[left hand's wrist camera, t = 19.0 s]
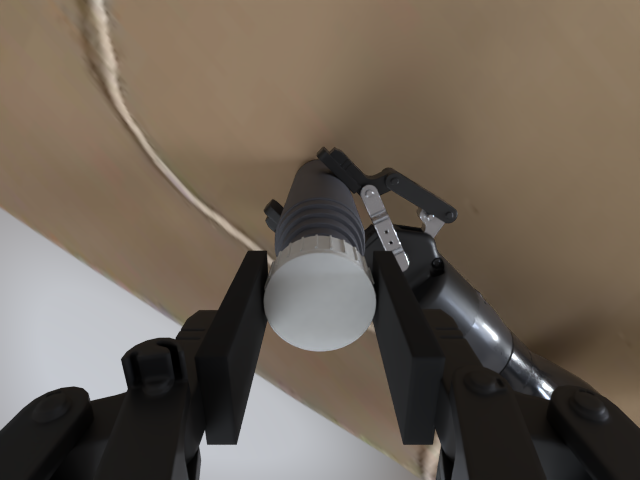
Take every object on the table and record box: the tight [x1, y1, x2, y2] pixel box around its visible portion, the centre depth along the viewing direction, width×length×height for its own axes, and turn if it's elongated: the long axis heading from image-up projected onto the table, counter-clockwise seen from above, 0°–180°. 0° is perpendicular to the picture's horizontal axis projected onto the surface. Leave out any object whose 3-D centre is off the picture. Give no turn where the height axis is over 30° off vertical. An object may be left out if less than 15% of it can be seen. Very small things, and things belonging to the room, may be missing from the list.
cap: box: [264, 235, 376, 351], centre depth 14 cm, size 4×4×2 cm
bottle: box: [275, 159, 365, 257], centre depth 23 cm, size 5×5×20 cm
